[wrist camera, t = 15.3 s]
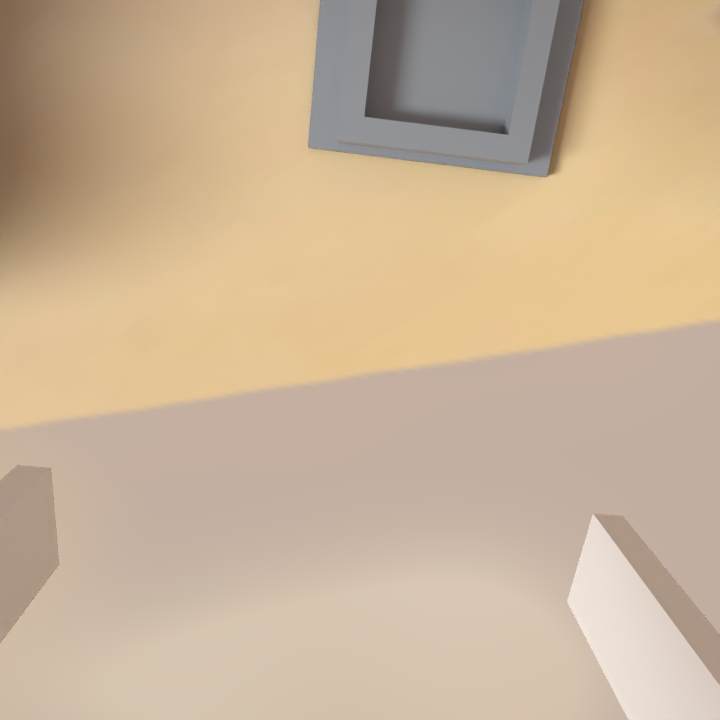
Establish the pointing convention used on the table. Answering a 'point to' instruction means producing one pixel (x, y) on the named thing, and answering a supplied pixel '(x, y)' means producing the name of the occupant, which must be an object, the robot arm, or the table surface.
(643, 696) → the robot arm
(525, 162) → the keyhole board
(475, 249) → the table surface
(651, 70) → the table surface
